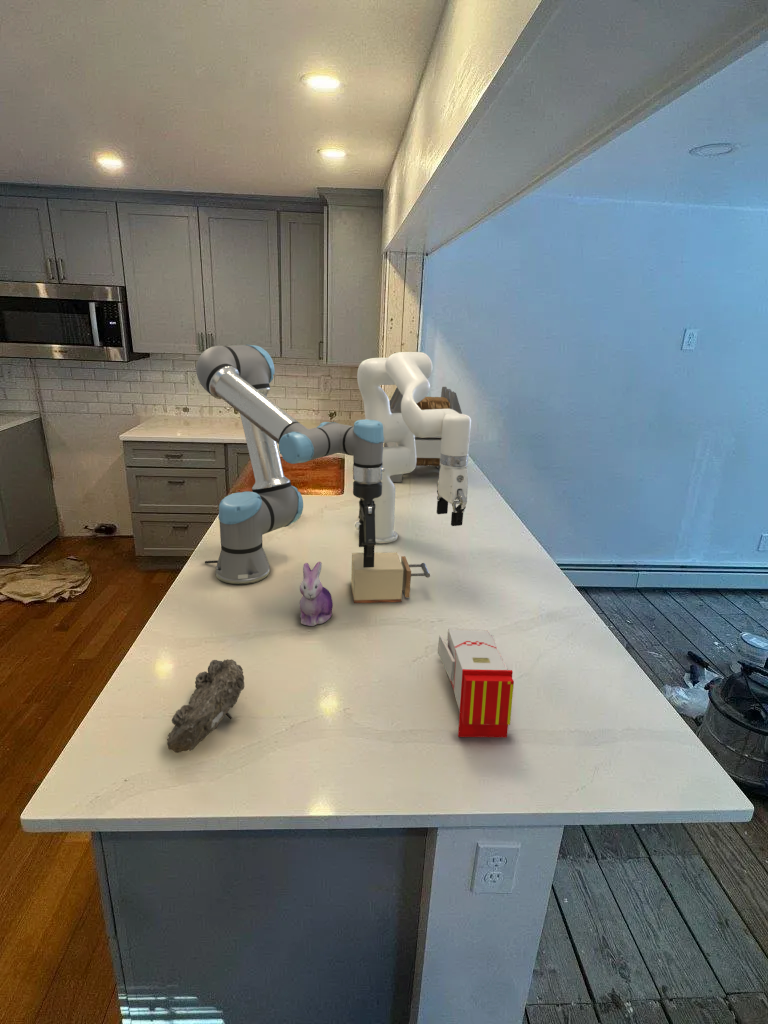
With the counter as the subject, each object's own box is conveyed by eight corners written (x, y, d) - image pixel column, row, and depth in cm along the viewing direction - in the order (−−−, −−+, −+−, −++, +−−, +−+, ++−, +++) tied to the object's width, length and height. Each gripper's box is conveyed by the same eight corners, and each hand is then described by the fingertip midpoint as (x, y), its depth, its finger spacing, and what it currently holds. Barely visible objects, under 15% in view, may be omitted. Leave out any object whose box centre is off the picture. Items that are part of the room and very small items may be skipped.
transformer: (382, 463, 289) (386, 382, 275) (445, 464, 293) (451, 384, 279) (390, 482, 257) (394, 392, 243) (460, 483, 261) (468, 394, 247)
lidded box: (395, 583, 164) (397, 552, 160) (401, 601, 154) (403, 569, 150) (351, 584, 162) (351, 552, 159) (354, 603, 152) (355, 569, 149)
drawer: (422, 581, 164) (424, 555, 161) (429, 597, 155) (431, 570, 152) (363, 582, 162) (364, 556, 159) (366, 598, 153) (367, 571, 150)
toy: (488, 613, 130) (523, 677, 101) (484, 667, 133) (517, 744, 104) (435, 612, 130) (455, 676, 101) (432, 666, 133) (451, 743, 103)
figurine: (305, 631, 137) (304, 575, 132) (291, 611, 146) (290, 558, 141) (340, 623, 142) (342, 569, 137) (325, 604, 150) (326, 552, 145)
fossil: (192, 660, 117) (244, 628, 112) (224, 691, 120) (276, 661, 115) (142, 746, 98) (202, 712, 93) (182, 779, 101) (242, 748, 96)
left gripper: (388, 495, 135) (385, 575, 142) (376, 468, 158) (374, 538, 165) (357, 495, 134) (356, 576, 141) (349, 468, 157) (348, 539, 164)
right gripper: (481, 467, 147) (475, 529, 152) (452, 452, 162) (448, 508, 168) (454, 469, 144) (449, 531, 150) (428, 453, 160) (424, 510, 166)
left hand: (366, 556), depth 153 cm, fingers open, 13 cm apart
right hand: (449, 519), depth 159 cm, fingers open, 9 cm apart
